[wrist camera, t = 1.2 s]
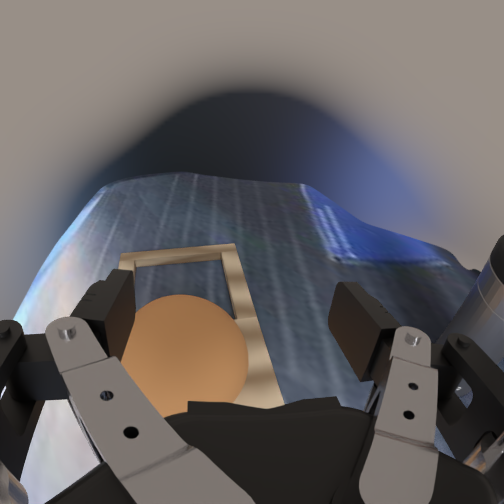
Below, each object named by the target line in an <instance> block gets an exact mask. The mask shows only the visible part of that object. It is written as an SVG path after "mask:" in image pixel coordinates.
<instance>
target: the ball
mask: <svg viewBox="0 0 504 504" xmlns="http://www.w3.org/2000/svg"><path fill="white" fill-rule="evenodd" d="M121 364H122V365H123V367H124V368H125V370H126V371H127V372H128V374H129V375H130V376H131V378H132V379H133V381H134V382H135V383H136V384H137V386H138V387H139V388H140V390H141V391H142V392H143V394H144V395H145V396H146V397H147V399H148V400H149V401H150V402H151V404H152V405H153V406H154V407H155V409H156V410H157V411H158V412H159V413H160V415H161V416H162V417H163V418H164V417H167V416H170V415H173V414H177V413H182V412H187V406H188V401H204V402H229V403H233V402H234V401H235V400H236V398H237V397H238V395H239V394H240V392H241V390H242V388H243V386H244V384H245V381H246V377H247V373H248V366H249V362H248V350H247V345H246V342H245V339H244V336H243V334H242V332H241V330H240V329H239V327H238V325H237V324H236V322H235V321H234V320H233V319H232V318H231V317H230V315H229V314H228V313H227V312H225V311H224V310H223V309H222V308H220V307H219V306H217V305H216V304H214V303H212V302H210V301H208V300H206V299H203V298H200V297H196V296H191V295H170V296H165V297H162V298H159V299H156V300H154V301H152V302H150V303H148V304H146V305H145V306H144V307H142V308H141V309H139V310H138V311H137V312H136V313H135V321H134V324H133V327H132V330H131V333H130V336H129V339H128V342H127V345H126V348H125V351H124V354H123V357H122V360H121Z"/></svg>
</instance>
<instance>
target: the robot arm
mask: <svg viewBox="0 0 504 504" xmlns="http://www.w3.org/2000/svg"><path fill="white" fill-rule="evenodd" d="M135 312H136V307H135V292H134V275H133V271H132V270H123V269H113V270H112V271H111V273H110V274H109V276H108V277H107V279H106V280H105V281H103V280H99V281H98V282H96V283H94V284H93V285H91V286H90V287H89V289H88V290H87V292H86V293H85V294H84V296H83V297H82V299H81V300H80V302H79V303H78V305H77V306H76V308H75V309H74V310H73V312H72V313H71V315H70V316H69V317H63V318H59V319H57V320H54V321H53V322H51V323H50V324H49V325H48V326H47V328H46V330H45V333H44V334H29V335H24V332H23V329H22V326H21V324H20V323H18V322H17V321H14V320H2V321H0V397H1V393H2V391H3V389H4V387H5V386H6V390H5V392H4V394H3V396H2V398H1V400H0V504H28V495H27V492H26V490H25V488H24V487H23V485H22V484H21V483H20V478H21V474H22V471H23V467H24V463H25V460H26V456H27V453H28V450H29V446H30V443H31V440H32V437H33V434H34V431H35V428H36V425H37V422H38V419H39V416H40V414H41V411H42V408H43V406H44V403H45V400H62V399H67V401H68V403H69V405H70V407H71V409H72V411H73V414H74V416H75V418H76V420H77V422H78V424H79V426H80V428H81V430H82V432H83V434H84V435H85V437H86V439H87V441H88V443H89V445H90V447H91V449H92V451H93V452H94V454H95V456H96V458H97V460H98V461H99V463H100V464H99V465H98V466H96V467H95V468H94V469H92V470H91V471H90V472H88V473H87V474H86V475H84V476H83V477H82V478H80V479H79V480H77V481H76V482H75V483H73V484H72V485H70V486H69V487H68V488H66V489H65V490H63V491H62V492H61V493H59V494H58V495H56V496H55V497H53V498H52V499H50V500H49V501H47V502H46V503H45V504H504V372H503V371H502V370H501V369H500V368H499V367H498V366H497V364H498V363H499V362H500V361H501V360H502V359H503V358H504V235H503V236H501V237H500V238H499V240H498V241H497V243H496V245H495V247H494V249H493V251H492V253H491V255H490V257H489V259H488V261H487V263H486V264H485V266H484V268H483V270H482V272H481V273H480V275H479V277H478V279H477V281H476V282H475V284H474V286H473V288H472V289H471V291H470V292H469V294H468V296H467V297H466V299H465V301H464V302H463V304H462V305H461V307H460V308H459V310H458V311H457V313H456V314H455V316H454V317H453V319H452V320H451V322H450V323H449V325H448V326H447V328H446V329H445V330H444V332H443V333H442V335H441V336H440V337H439V339H438V340H437V341H436V343H435V344H434V343H431V340H430V338H429V337H428V336H427V335H426V334H425V333H424V332H422V331H421V330H419V329H416V328H413V327H407V326H403V327H402V326H401V325H400V324H399V323H398V322H397V321H396V319H395V318H394V317H393V316H392V315H391V314H390V313H388V311H387V310H386V309H385V308H384V307H383V305H382V304H381V303H380V302H379V301H378V300H377V299H375V298H374V297H372V296H370V295H369V294H368V293H367V292H366V291H365V290H364V289H363V288H362V287H361V286H360V285H359V284H358V283H357V282H338V284H337V285H336V288H335V292H334V296H333V300H332V304H331V308H330V312H329V316H328V325H329V329H330V331H331V333H332V334H333V336H334V338H335V339H336V341H337V343H338V345H339V346H340V348H341V350H342V351H343V353H344V355H345V357H346V358H347V360H348V362H349V363H350V365H351V367H352V369H353V370H354V372H355V374H356V375H357V377H358V379H359V381H360V382H364V381H372V380H373V381H374V383H373V386H372V388H371V390H370V393H369V396H368V399H367V402H366V405H365V407H364V410H363V411H361V410H358V409H354V408H350V407H343V406H341V405H340V403H339V401H338V399H337V397H336V396H335V397H325V398H315V399H303V400H300V401H296V402H293V403H289V404H285V405H282V406H278V407H274V408H269V409H264V408H257V407H251V406H245V405H240V404H234V403H229V402H204V401H188V406H187V412H182V413H177V414H173V415H170V416H167V417H164V418H163V417H162V416H161V415H160V413H159V412H158V411H157V410H156V409H155V407H154V406H153V405H152V404H151V402H150V401H149V400H148V399H147V397H146V396H145V395H144V394H143V392H142V391H141V390H140V388H139V387H138V386H137V384H136V383H135V382H134V381H133V379H132V378H131V376H130V375H129V374H128V372H127V371H126V370H125V368H124V367H123V365H122V364H121V360H122V357H123V354H124V351H125V348H126V345H127V342H128V339H129V336H130V333H131V330H132V327H133V324H134V321H135ZM471 390H472V392H473V399H472V402H471V404H470V405H469V406H468V408H466V407H465V406H464V404H463V403H462V401H461V400H460V399H459V396H463V395H466V394H467V393H469V392H470V391H471ZM435 426H437V428H438V429H439V431H440V433H441V434H442V436H443V438H444V439H445V441H446V443H447V444H448V446H449V448H450V450H451V451H452V453H453V455H454V457H455V458H456V459H454V458H452V457H450V456H448V455H446V454H444V453H442V452H440V451H438V449H437V448H436V447H435V446H434V436H435Z"/></svg>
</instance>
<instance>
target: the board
mask: <svg viewBox="0 0 504 504" xmlns="http://www.w3.org/2000/svg"><path fill="white" fill-rule="evenodd" d="M210 260H222V265H223V269H224V273H225V278H226V282H227V286H228V290H229V295H230V299H231V303H232V307H233V311H234V315H235V320H234V321H235V322H236V324H237V325H238V327H239V329H240V330H241V332H242V334H243V336H244V339H245V342H246V345H247V350H248V362H249V366H248V373H247V377H246V381H245V384H244V386H243V388H242V390H241V392H240V394H239V395H238V397H237V398H236V400H235V401H234V402H233V403H234V404H240V405H245V406H251V407H257V408H264V409H269V408H274V407H278V406H282V405H285V404H284V401H283V398H282V395H281V392H280V389H279V386H278V383H277V379H276V376H275V373H274V370H273V367H272V364H271V361H270V357H269V354H268V351H267V348H266V345H265V341H264V338H263V335H262V332H261V329H260V325H259V322H258V319H257V316H256V312H255V309H254V306H253V303H252V299H251V296H250V293H249V290H248V286H247V283H246V280H245V277H244V273H243V270H242V267H241V263H240V260H239V257H238V253H237V250H236V247H235V243H234V244H222V245H211V246H199V247H187V248H176V249H165V250H153V251H142V252H131V253H121V256H120V262H119V268H118V269H123V270H132V271H133V275H134V284H135V273H136V267H143V266H154V265H165V264H176V263H187V262H199V261H210Z"/></svg>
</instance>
